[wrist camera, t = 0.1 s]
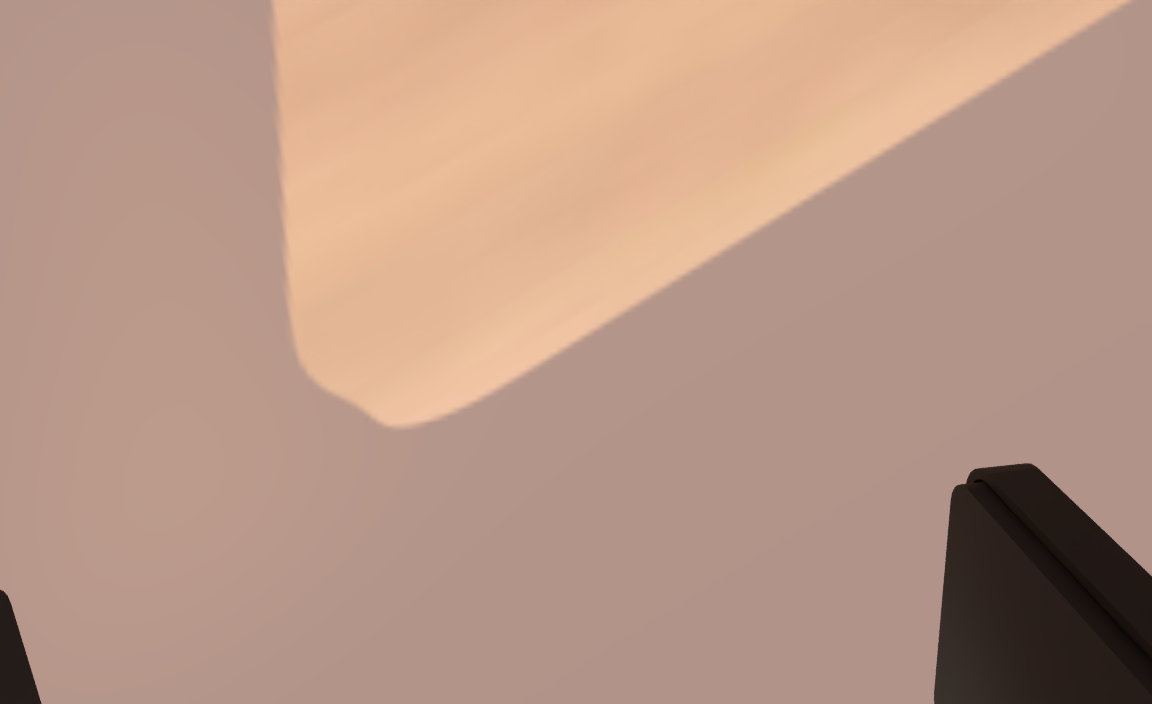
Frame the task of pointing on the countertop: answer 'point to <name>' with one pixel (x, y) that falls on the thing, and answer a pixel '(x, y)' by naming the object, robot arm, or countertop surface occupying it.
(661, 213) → the countertop surface
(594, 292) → the countertop surface
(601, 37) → the countertop surface
